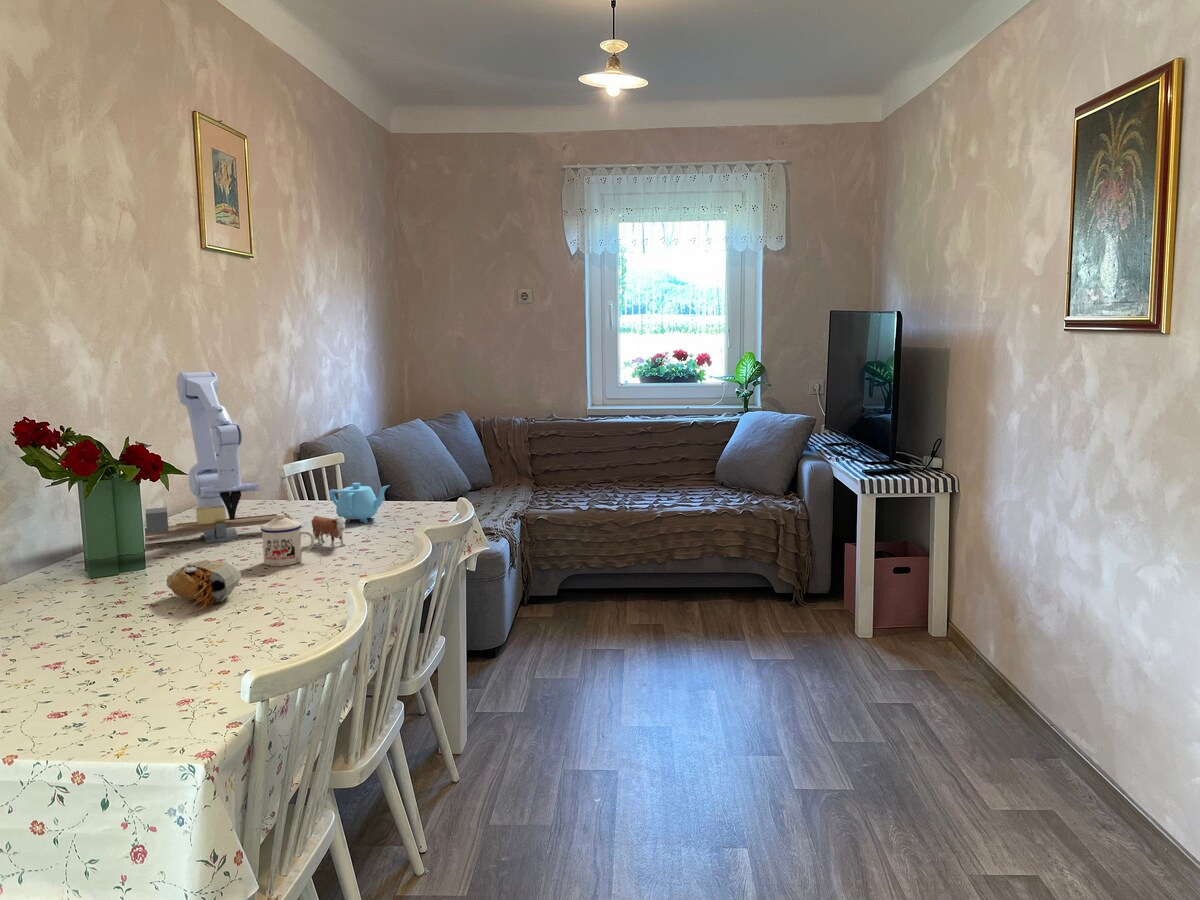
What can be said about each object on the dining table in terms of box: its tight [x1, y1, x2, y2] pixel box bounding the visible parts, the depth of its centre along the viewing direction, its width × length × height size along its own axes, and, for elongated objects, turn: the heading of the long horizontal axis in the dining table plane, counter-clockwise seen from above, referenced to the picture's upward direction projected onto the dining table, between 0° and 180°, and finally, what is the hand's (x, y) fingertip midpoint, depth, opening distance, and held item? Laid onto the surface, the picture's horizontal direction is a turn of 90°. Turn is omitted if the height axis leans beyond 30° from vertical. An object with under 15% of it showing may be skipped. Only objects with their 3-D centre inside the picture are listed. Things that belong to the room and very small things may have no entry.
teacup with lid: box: [260, 513, 316, 567], centre depth 215 cm, size 12×9×12 cm
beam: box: [144, 506, 293, 537], centre depth 242 cm, size 8×36×6 cm, turn 116°
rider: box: [195, 505, 227, 527], centre depth 241 cm, size 4×7×4 cm, turn 116°
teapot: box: [328, 482, 390, 524], centre depth 263 cm, size 13×14×11 cm
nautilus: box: [166, 559, 242, 615], centre depth 184 cm, size 8×22×15 cm
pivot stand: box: [202, 523, 239, 544], centre depth 242 cm, size 12×8×5 cm, turn 26°
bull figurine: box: [311, 515, 351, 548], centre depth 232 cm, size 4×13×8 cm, turn 53°
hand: (232, 519), depth 243 cm, fingers closed
